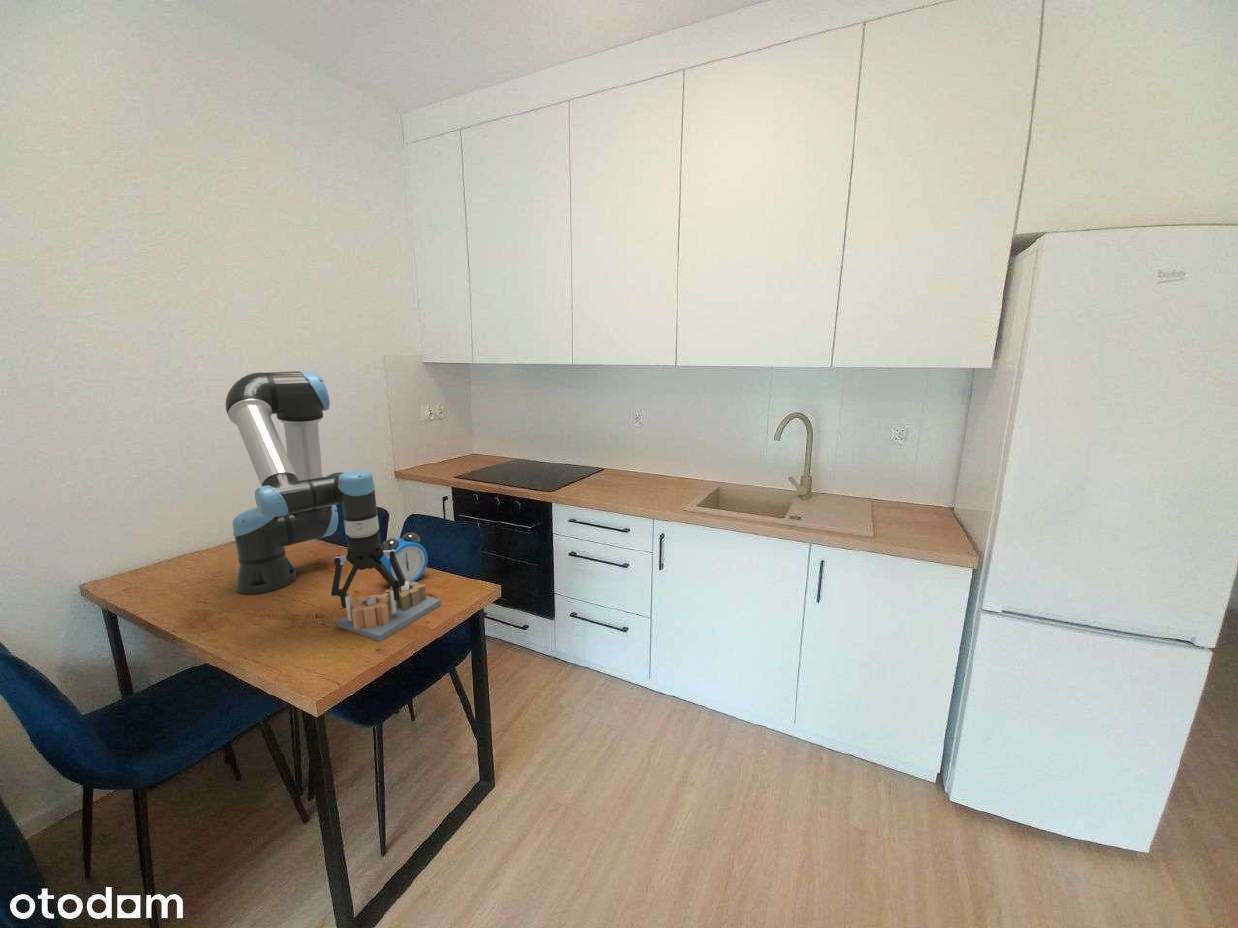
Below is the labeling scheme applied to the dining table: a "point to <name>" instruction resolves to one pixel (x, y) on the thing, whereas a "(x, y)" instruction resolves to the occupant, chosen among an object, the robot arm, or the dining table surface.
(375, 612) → the loose gear
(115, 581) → the dining table surface
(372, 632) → the gear board
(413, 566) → the alarm clock
